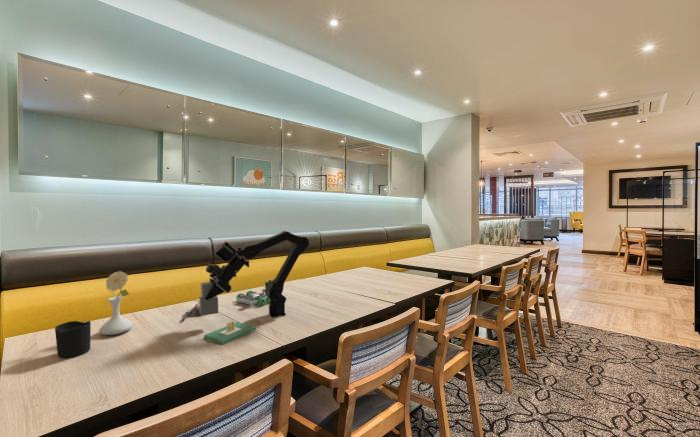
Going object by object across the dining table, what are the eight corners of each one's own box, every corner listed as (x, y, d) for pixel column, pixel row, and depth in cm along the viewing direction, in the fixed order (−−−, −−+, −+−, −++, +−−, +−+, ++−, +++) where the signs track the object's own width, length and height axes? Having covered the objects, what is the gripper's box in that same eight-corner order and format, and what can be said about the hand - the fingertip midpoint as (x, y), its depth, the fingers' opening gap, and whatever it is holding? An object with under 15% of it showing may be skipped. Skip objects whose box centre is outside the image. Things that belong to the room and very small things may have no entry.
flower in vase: (92, 335, 130) (89, 272, 129) (121, 325, 140) (119, 266, 139) (114, 340, 125) (111, 274, 124) (142, 329, 136) (140, 269, 134)
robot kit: (291, 297, 182) (290, 280, 181) (255, 309, 161) (255, 290, 161) (267, 292, 192) (267, 276, 192) (231, 303, 171) (230, 285, 171)
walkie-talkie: (192, 308, 163) (180, 323, 144) (192, 299, 163) (179, 313, 143) (211, 307, 165) (201, 321, 145) (211, 298, 165) (201, 311, 145)
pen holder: (87, 344, 121) (86, 317, 121) (95, 352, 115) (93, 324, 115) (53, 353, 114) (52, 325, 113) (59, 362, 108) (58, 332, 107)
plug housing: (216, 310, 141) (215, 281, 141) (218, 313, 138) (217, 283, 137) (199, 312, 138) (198, 283, 137) (201, 315, 134) (200, 285, 133)
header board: (237, 324, 140) (237, 313, 140) (255, 329, 135) (255, 318, 135) (204, 338, 127) (203, 326, 126) (223, 344, 121) (222, 331, 121)
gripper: (213, 253, 146) (186, 281, 141) (222, 259, 131) (192, 291, 125) (232, 269, 151) (207, 296, 146) (242, 277, 135) (214, 308, 130)
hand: (205, 297), depth 137 cm, fingers closed on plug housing, 4 cm apart
